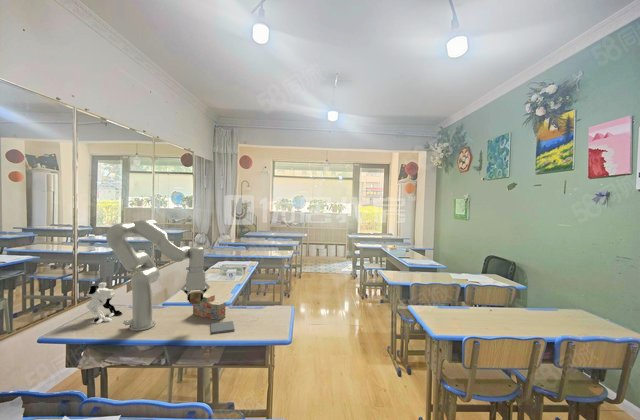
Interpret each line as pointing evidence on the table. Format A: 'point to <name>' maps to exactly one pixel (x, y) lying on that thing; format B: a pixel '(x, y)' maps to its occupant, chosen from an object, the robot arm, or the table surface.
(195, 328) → the table surface
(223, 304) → the stack of blocks
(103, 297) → the robot toy
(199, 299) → the walnut cube
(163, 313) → the table surface
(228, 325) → the mat
